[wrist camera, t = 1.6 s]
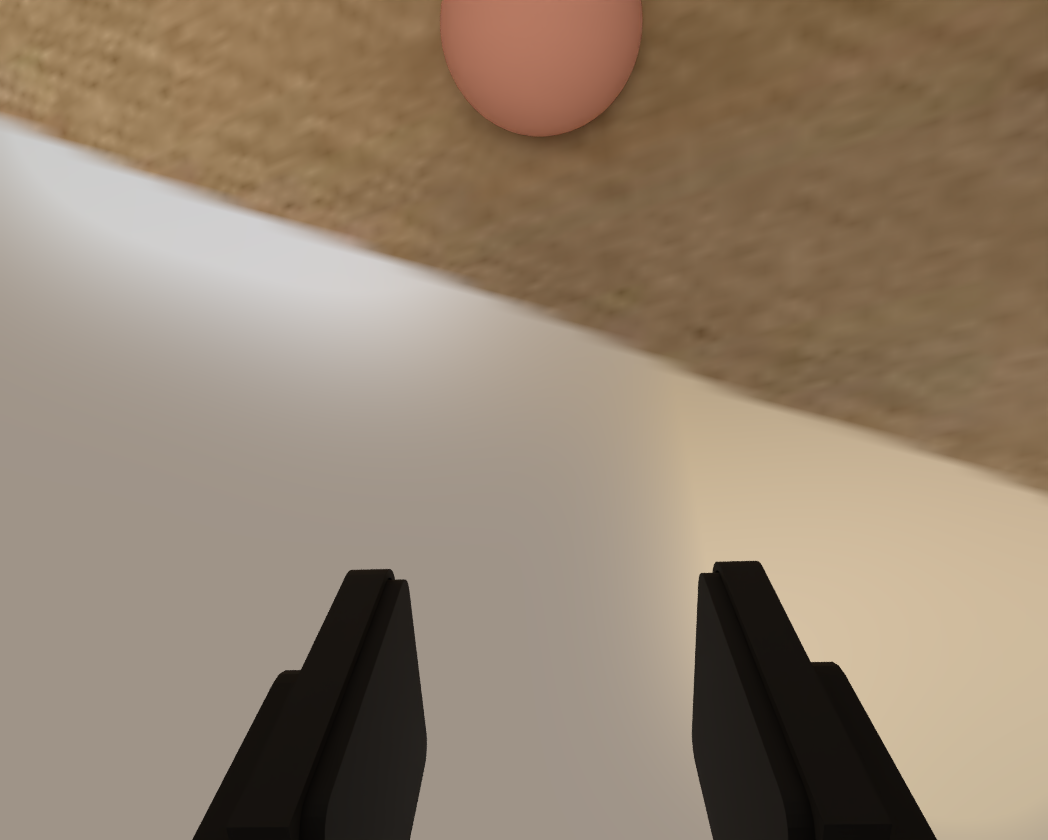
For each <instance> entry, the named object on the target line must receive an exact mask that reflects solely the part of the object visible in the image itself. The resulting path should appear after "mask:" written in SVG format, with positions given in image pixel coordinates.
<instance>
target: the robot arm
mask: <svg viewBox="0 0 1048 840" xmlns="http://www.w3.org/2000/svg"><path fill="white" fill-rule="evenodd" d="M696 627H697V628H696V649H695V650H696V651H695V673H694V696H693V721H692V743H693V753H694V759H695V764H696V768H697V772H698V777H699V781H700V785H701V789H702V794H703V798H704V802H705V806H706V811H707V814H708V819H709V824H710V828H711V832H712V836H713V840H937V839H936V837H935V835H934V834H933V832H932V830H931V828H930V826H929V824H928V823H927V821H926V819H925V817H924V815H923V814H922V812H921V810H920V808H919V806H918V805H917V803H916V801H915V799H914V798H913V796H912V794H911V792H910V790H909V789H908V787H907V785H906V783H905V781H904V780H903V778H902V776H901V774H900V773H899V771H898V769H897V767H896V765H895V764H894V762H893V760H892V758H891V756H890V754H889V753H888V751H887V749H886V747H885V745H884V744H883V742H882V740H881V738H880V736H879V735H878V733H877V731H876V729H875V728H874V726H873V724H872V722H871V720H870V718H869V717H868V715H867V713H866V711H865V710H864V708H863V706H862V704H861V702H860V701H859V699H858V697H857V695H856V693H855V692H854V690H853V688H852V686H851V684H850V683H849V681H848V679H847V677H846V675H845V674H844V672H843V671H842V670H841V668H840V667H839V665H837V664H835V663H834V662H810V660H809V658H808V656H807V654H806V652H805V650H804V648H803V646H802V644H801V642H800V640H799V638H798V636H797V634H796V632H795V630H794V628H793V626H792V624H791V622H790V620H789V618H788V616H787V614H786V612H785V610H784V608H783V606H782V604H781V602H780V600H779V598H778V596H777V594H776V592H775V590H774V589H773V586H772V585H771V583H770V580H769V579H768V576H767V575H766V573H765V571H764V569H763V567H762V565H761V563H760V562H758V561H732V562H731V561H730V562H716V563H715V564H714V567H713V573H701V574H700V576H699V582H698V603H697V626H696ZM426 751H427V736H426V726H425V718H424V709H423V701H422V693H421V684H420V677H419V668H418V659H417V651H416V643H415V634H414V626H413V618H412V609H411V601H410V593H409V586H408V583H407V581H406V580H395V577H394V574H393V571H392V570H391V569H371V570H350V571H349V572H348V573H347V575H346V576H345V578H344V581H343V583H342V585H341V587H340V589H339V591H338V593H337V595H336V597H335V599H334V602H333V604H332V606H331V608H330V610H329V612H328V615H327V616H326V618H325V621H324V623H323V625H322V627H321V629H320V631H319V633H318V635H317V637H316V639H315V641H314V644H313V646H312V648H311V650H310V652H309V654H308V656H307V658H306V660H305V663H304V664H303V667H302V669H301V670H285V671H284V672H282V673H280V674H279V675H278V677H277V678H276V680H275V681H274V683H273V685H272V687H271V688H270V690H269V692H268V694H267V696H266V698H265V700H264V702H263V704H262V706H261V708H260V710H259V712H258V714H257V715H256V717H255V719H254V721H253V723H252V725H251V727H250V729H249V731H248V733H247V735H246V737H245V739H244V741H243V743H242V745H241V747H240V748H239V750H238V752H237V754H236V756H235V758H234V760H233V762H232V764H231V766H230V768H229V770H228V772H227V774H226V775H225V777H224V780H223V781H222V784H221V785H220V787H219V789H218V791H217V793H216V795H215V797H214V799H213V801H212V803H211V805H210V806H209V809H208V810H207V812H206V814H205V816H204V818H203V820H202V822H201V824H200V826H199V828H198V830H197V832H196V834H195V836H194V837H193V840H410V835H411V831H412V826H413V821H414V816H415V811H416V807H417V802H418V797H419V792H420V787H421V782H422V777H423V772H424V767H425V761H426Z"/></svg>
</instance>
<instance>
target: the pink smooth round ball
mask: <svg viewBox="0 0 1048 840" xmlns="http://www.w3.org/2000/svg"><path fill="white" fill-rule="evenodd" d="M642 23H643V18H642V4H641V0H442V5H441V15H440V32H441V40H442V47H443V51H444V55H445V59H446V62H447V65H448V68H449V70H450V73H451V75H452V77H453V79H454V81H455V83H456V85H457V86H458V88H459V90H460V91H461V93H462V94H463V95H464V97H465V98H466V100H467V101H468V102H469V103H470V104H471V105H472V106H473V107H474V109H475V110H477V111H478V112H479V113H480V114H481V115H482V116H484V117H485V118H486V119H488V120H489V121H491V122H492V123H494V124H495V125H497V126H499V127H501V128H504V129H506V130H508V131H511V132H514V133H518V134H522V135H528V136H553V135H559V134H563V133H566V132H570V131H572V130H575V129H577V128H579V127H582V126H583V125H585V124H587V123H589V122H590V121H592V120H593V119H595V118H596V117H597V116H599V115H600V114H601V113H602V112H604V111H605V109H606V108H607V107H608V106H609V105H610V104H611V103H612V102H613V101H614V100H615V99H616V97H617V96H618V95H619V93H620V92H621V91H622V89H623V87H624V86H625V84H626V82H627V81H628V79H629V76H630V74H631V72H632V70H633V67H634V65H635V62H636V58H637V55H638V52H639V48H640V42H641V37H642Z"/></svg>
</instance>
